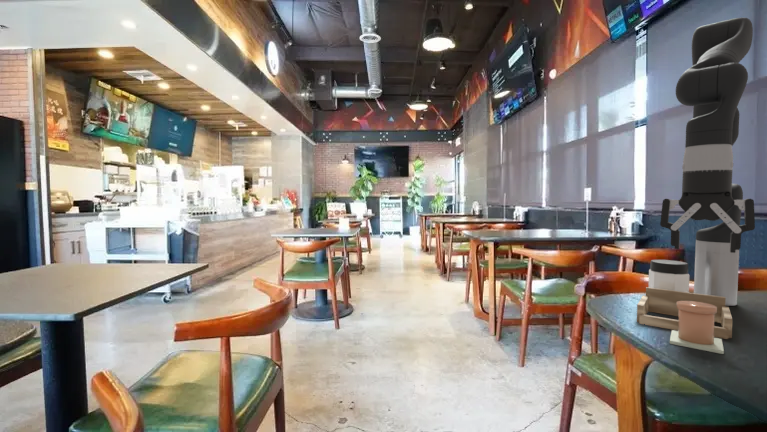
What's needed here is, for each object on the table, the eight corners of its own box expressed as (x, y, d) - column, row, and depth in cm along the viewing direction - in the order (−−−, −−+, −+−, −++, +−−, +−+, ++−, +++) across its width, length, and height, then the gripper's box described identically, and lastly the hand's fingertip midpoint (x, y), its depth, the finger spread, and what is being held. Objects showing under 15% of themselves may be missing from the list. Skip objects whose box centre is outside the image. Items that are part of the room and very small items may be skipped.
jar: (692, 306, 102) (693, 262, 101) (683, 312, 96) (685, 265, 96) (652, 299, 108) (654, 258, 108) (643, 304, 103) (644, 261, 103)
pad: (671, 332, 81) (671, 330, 81) (721, 341, 76) (721, 338, 76) (669, 343, 75) (669, 340, 75) (723, 354, 70) (723, 351, 70)
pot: (677, 332, 80) (677, 299, 80) (716, 338, 76) (716, 304, 76) (675, 339, 75) (675, 305, 75) (716, 347, 71) (717, 310, 71)
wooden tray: (642, 309, 99) (643, 286, 98) (727, 322, 88) (728, 297, 88) (636, 323, 88) (636, 297, 87) (732, 340, 77) (733, 311, 77)
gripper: (754, 168, 73) (750, 251, 74) (663, 171, 82) (661, 245, 83) (759, 166, 68) (755, 256, 68) (661, 170, 77) (658, 249, 78)
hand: (703, 250), depth 76 cm, fingers open, 8 cm apart
